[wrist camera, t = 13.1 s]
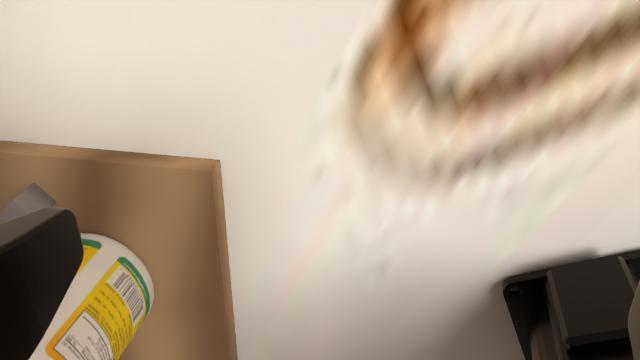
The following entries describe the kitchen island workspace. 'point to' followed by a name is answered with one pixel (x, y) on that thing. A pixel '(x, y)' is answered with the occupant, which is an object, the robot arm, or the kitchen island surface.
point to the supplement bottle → (99, 305)
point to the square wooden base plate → (142, 233)
